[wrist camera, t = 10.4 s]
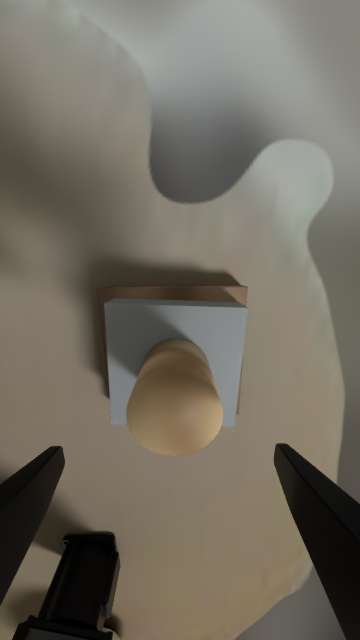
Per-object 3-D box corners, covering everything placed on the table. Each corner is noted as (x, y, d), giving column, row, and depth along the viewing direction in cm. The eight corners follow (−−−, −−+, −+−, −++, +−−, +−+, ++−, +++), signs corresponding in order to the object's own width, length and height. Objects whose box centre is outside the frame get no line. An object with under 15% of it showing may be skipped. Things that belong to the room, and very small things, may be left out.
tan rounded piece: (145, 400, 16) (130, 456, 11) (140, 339, 15) (121, 373, 10) (209, 398, 16) (222, 454, 11) (209, 337, 15) (224, 370, 10)
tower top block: (120, 404, 19) (111, 424, 17) (114, 298, 16) (104, 303, 14) (226, 407, 19) (234, 427, 17) (238, 301, 17) (248, 307, 14)
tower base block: (119, 400, 22) (112, 416, 19) (107, 286, 19) (97, 289, 16) (231, 398, 22) (238, 414, 19) (238, 284, 19) (247, 286, 16)
